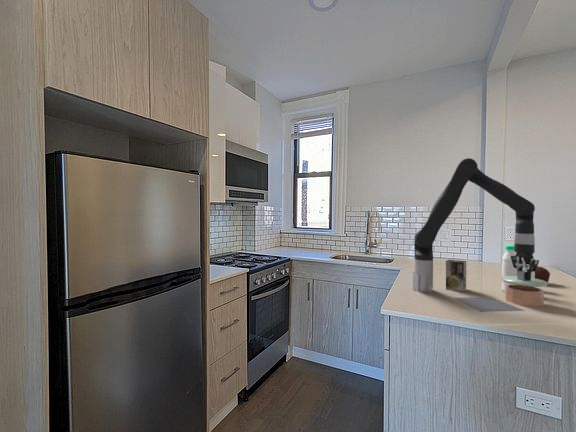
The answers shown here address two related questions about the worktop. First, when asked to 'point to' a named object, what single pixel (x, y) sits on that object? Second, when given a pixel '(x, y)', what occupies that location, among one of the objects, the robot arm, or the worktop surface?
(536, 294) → the bowl
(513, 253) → the water bottle
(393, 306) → the worktop surface
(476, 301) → the mat
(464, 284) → the coffee box
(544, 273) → the muffin
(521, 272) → the lid
